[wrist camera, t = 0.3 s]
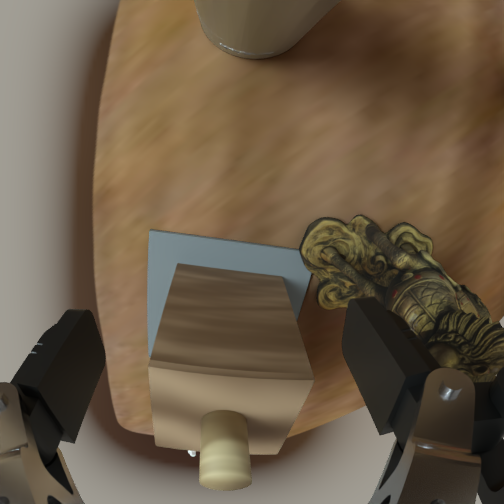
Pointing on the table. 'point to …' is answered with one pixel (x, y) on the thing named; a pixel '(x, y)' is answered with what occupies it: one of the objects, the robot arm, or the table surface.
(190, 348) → the cover
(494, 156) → the table surface
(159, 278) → the mat
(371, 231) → the figurine
